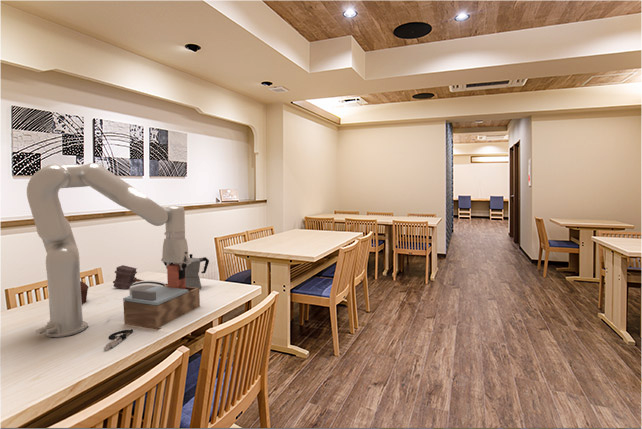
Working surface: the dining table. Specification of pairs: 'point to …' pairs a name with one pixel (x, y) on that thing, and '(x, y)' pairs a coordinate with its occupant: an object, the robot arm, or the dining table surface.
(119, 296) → the dining table surface
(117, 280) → the hammer
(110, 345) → the micrometer
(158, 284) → the white curved piece
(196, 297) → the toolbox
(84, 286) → the muffin
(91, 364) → the dining table surface
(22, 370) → the dining table surface
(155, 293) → the lid
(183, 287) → the peg
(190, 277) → the coffeepot
